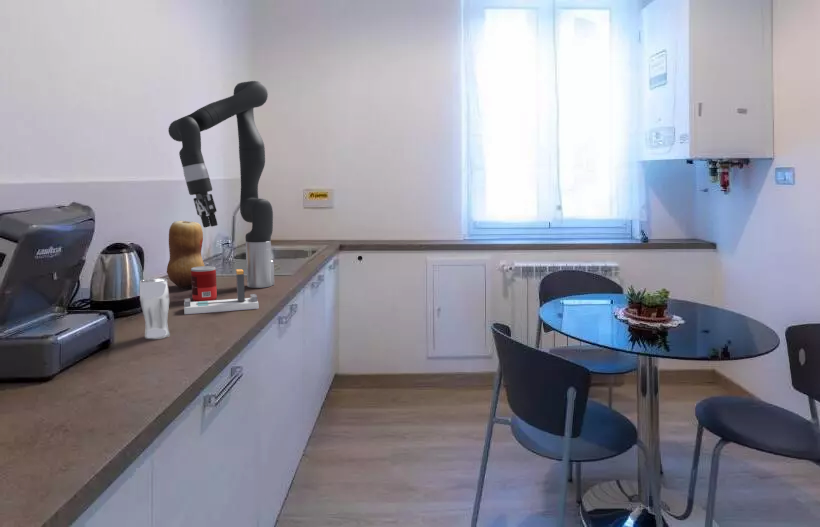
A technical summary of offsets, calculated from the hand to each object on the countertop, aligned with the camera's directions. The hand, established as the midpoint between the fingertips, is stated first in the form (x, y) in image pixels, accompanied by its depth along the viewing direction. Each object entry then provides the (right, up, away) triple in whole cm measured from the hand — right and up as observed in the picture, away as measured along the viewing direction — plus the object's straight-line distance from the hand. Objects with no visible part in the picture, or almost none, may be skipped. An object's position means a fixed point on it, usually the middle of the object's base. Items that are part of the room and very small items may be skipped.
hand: (210, 226), depth 194 cm
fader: (+13, -24, -9) cm, 29 cm away
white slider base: (+7, -27, -11) cm, 30 cm away
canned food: (-3, -25, +2) cm, 25 cm away
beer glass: (+1, -32, -43) cm, 53 cm away
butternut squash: (-17, -22, +23) cm, 36 cm away
